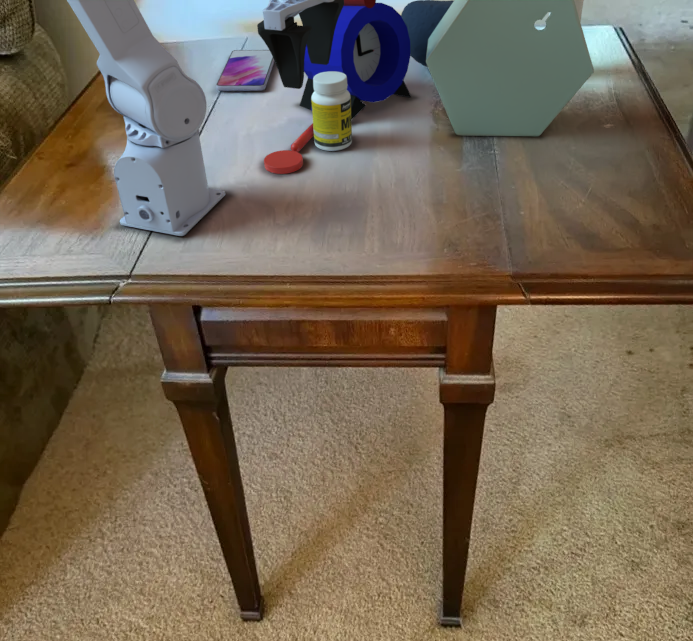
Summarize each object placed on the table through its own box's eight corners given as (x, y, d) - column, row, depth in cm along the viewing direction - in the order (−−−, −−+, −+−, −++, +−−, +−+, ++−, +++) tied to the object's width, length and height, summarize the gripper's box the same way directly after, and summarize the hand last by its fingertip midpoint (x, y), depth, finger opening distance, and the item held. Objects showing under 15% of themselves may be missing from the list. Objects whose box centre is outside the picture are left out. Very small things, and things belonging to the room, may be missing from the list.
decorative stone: (492, 75, 110) (498, 3, 104) (413, 86, 108) (414, 13, 102) (464, 48, 119) (468, -19, 113) (390, 58, 117) (390, -11, 111)
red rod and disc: (293, 176, 88) (292, 167, 88) (257, 171, 90) (256, 161, 89) (336, 128, 98) (336, 119, 97) (304, 124, 100) (303, 115, 99)
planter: (508, 143, 103) (618, 9, 91) (511, 170, 97) (629, 30, 85) (403, 75, 99) (504, -75, 87) (399, 98, 93) (507, -59, 81)
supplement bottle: (348, 153, 93) (345, 85, 87) (310, 150, 93) (305, 84, 88) (355, 135, 96) (353, 70, 91) (319, 134, 97) (314, 68, 92)
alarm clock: (349, 126, 98) (343, 6, 89) (290, 101, 106) (279, -13, 96) (415, 99, 104) (416, -17, 95) (355, 76, 112) (351, -33, 103)
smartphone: (277, 49, 120) (264, 86, 108) (277, 55, 120) (265, 92, 109) (231, 49, 120) (214, 86, 108) (232, 55, 121) (214, 92, 109)
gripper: (304, -34, 73) (313, 102, 82) (358, -68, 84) (361, 56, 92) (239, -38, 75) (254, 95, 84) (299, -70, 86) (308, 51, 94)
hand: (306, 74), depth 88 cm, fingers open, 7 cm apart
